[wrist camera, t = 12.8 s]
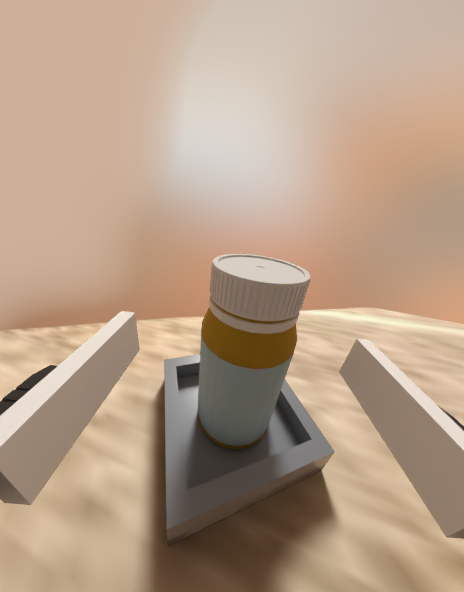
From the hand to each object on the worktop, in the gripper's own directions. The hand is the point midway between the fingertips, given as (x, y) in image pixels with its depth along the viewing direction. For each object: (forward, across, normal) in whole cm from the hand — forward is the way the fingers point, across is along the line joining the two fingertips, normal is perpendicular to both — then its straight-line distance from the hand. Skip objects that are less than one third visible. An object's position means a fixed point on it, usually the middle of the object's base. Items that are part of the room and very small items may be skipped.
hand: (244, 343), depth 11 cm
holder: (+3, 0, -12) cm, 12 cm away
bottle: (+3, +1, -11) cm, 11 cm away
